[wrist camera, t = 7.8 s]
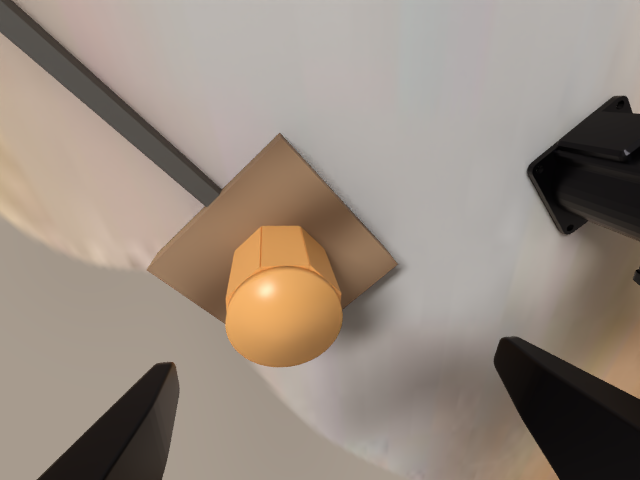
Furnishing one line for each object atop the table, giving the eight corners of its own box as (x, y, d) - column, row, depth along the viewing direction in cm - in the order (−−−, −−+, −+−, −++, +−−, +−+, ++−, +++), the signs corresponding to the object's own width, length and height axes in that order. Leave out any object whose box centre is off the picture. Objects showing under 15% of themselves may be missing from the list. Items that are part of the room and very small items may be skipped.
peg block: (386, 249, 21) (427, 303, 16) (277, 339, 23) (282, 415, 18) (279, 132, 17) (286, 151, 12) (157, 252, 19) (115, 317, 14)
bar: (221, 189, 18) (219, 195, 17) (209, 201, 18) (206, 207, 17) (-127, -124, 12) (-160, -142, 11) (-140, -100, 12) (-174, -116, 11)
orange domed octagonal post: (341, 265, 19) (364, 319, 14) (280, 317, 20) (284, 383, 15) (280, 207, 17) (286, 249, 12) (215, 268, 18) (199, 328, 13)
